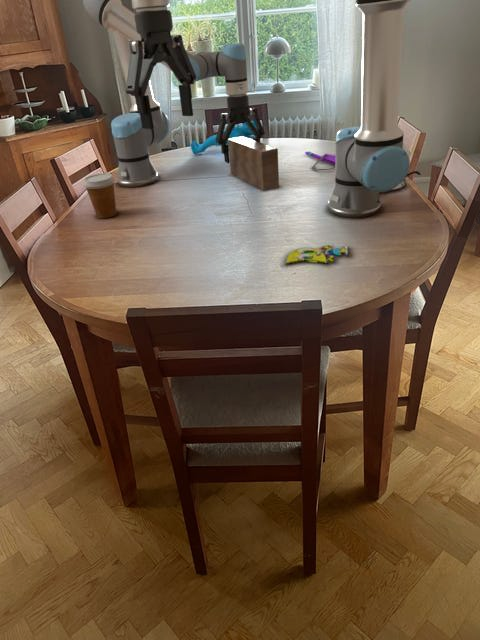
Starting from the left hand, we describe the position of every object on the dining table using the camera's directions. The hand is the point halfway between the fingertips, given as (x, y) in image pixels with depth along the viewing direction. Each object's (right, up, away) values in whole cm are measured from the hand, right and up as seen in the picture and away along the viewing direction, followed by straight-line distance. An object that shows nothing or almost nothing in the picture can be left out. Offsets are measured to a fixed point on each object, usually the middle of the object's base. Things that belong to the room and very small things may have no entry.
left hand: (242, 159), depth 177 cm
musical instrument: (+31, +1, +8) cm, 32 cm away
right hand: (-17, -15, -69) cm, 72 cm away
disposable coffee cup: (-44, -25, -22) cm, 55 cm away
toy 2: (+18, -44, -59) cm, 76 cm away
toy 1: (-7, +14, +34) cm, 38 cm away
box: (+4, -9, -3) cm, 10 cm away
